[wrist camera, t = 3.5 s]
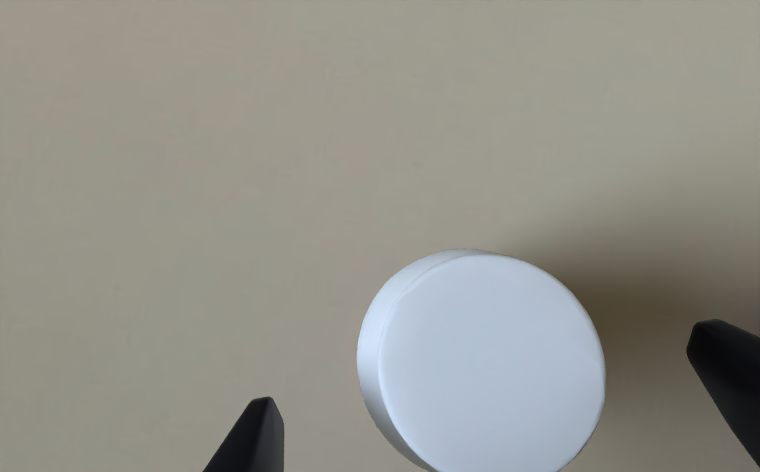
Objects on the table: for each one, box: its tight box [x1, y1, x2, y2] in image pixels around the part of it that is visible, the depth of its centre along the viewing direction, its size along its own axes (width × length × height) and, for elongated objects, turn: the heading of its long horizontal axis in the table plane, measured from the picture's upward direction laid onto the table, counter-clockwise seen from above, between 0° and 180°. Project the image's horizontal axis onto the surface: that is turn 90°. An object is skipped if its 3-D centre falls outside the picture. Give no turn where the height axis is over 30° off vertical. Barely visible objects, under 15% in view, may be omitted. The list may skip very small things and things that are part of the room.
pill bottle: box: [357, 249, 606, 472], centre depth 12 cm, size 5×5×10 cm
